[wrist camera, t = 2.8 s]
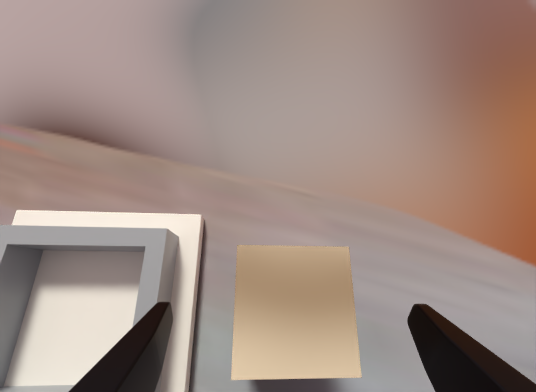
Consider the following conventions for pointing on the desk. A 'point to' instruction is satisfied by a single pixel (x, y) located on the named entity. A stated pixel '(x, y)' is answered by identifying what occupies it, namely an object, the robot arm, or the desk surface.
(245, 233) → the desk surface
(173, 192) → the desk surface
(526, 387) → the robot arm
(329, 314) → the block
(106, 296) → the square tray
